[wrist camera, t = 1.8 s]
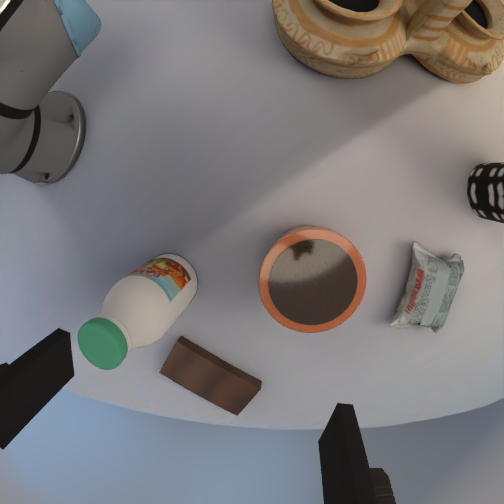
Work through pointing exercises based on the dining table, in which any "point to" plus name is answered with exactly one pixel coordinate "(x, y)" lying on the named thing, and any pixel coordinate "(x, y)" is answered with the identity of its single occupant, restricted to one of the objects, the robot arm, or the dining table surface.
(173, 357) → the walnut board
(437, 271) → the packaged food
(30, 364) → the robot arm
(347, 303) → the flower pot
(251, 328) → the dining table surface
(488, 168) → the white-spotted black cylinder
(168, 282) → the milk bottle
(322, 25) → the ceramic vessel
